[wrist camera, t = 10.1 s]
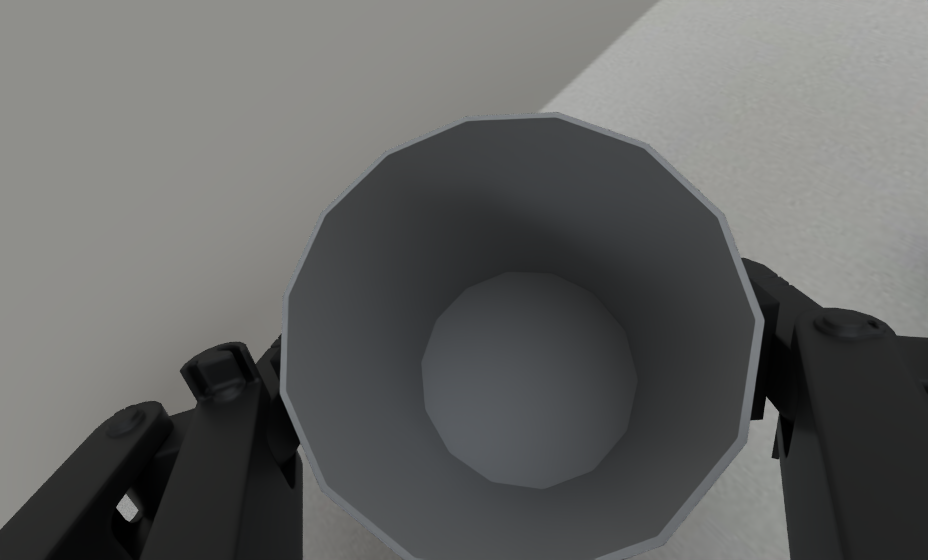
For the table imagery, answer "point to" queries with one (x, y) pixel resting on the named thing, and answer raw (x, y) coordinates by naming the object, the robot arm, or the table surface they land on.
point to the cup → (520, 344)
